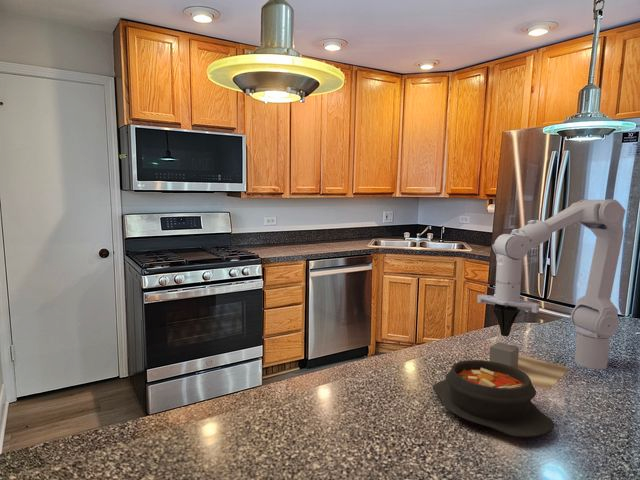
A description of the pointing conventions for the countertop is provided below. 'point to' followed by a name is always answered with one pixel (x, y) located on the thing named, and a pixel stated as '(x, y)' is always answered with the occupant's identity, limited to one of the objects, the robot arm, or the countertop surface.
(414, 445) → the countertop surface
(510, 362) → the grey cube
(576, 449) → the countertop surface
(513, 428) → the casserole
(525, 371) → the board
